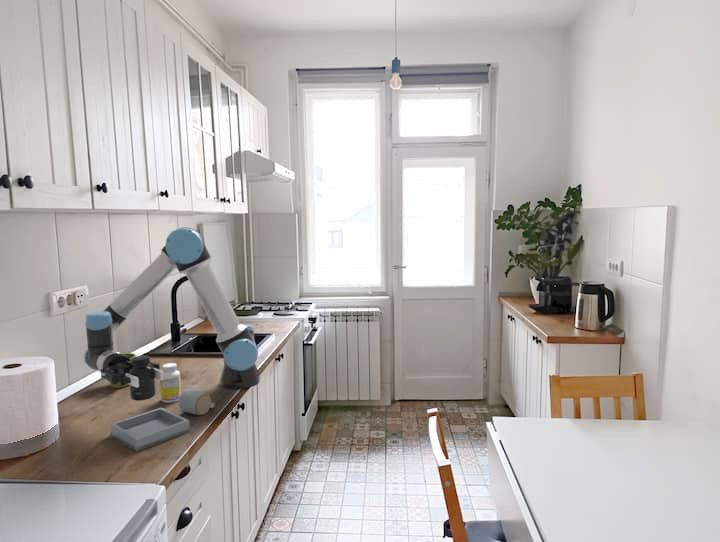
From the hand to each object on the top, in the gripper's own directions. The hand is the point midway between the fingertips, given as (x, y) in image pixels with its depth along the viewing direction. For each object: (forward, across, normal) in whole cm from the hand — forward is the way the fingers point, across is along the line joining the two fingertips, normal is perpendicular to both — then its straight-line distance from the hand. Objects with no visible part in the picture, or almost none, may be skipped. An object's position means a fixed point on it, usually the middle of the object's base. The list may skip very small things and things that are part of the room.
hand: (149, 379), depth 136 cm
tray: (-3, -1, -18) cm, 18 cm away
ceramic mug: (-7, -19, -18) cm, 27 cm away
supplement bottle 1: (-5, 0, -7) cm, 8 cm away
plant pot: (-54, -14, -18) cm, 58 cm away
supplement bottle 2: (-24, -19, -18) cm, 35 cm away
